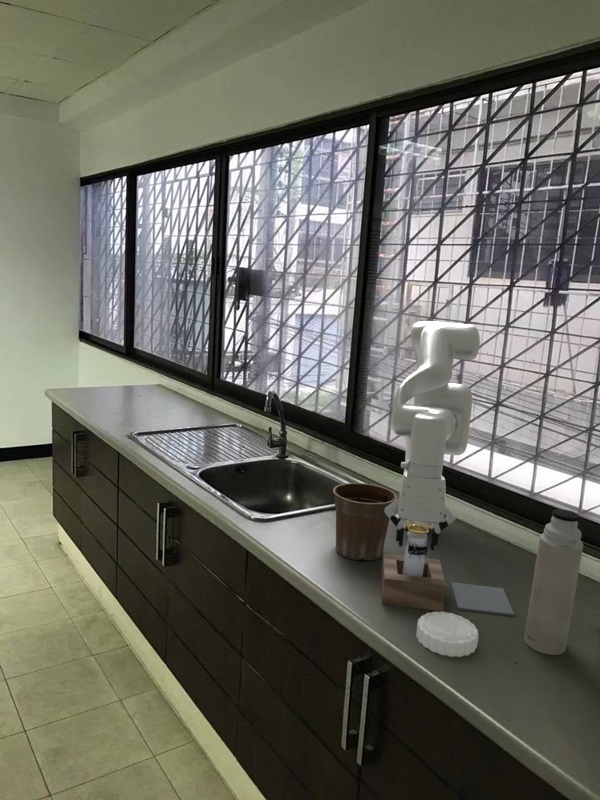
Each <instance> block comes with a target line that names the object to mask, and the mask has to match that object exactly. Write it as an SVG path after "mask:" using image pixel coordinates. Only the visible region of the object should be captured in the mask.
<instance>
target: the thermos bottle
mask: <svg viewBox="0 0 600 800" xmlns="http://www.w3.org/2000/svg"><path fill="white" fill-rule="evenodd" d="M551 514H552V516H551V519H550V522H549V523H546V524H545V527H544V529H543V533H541V534H540V535H539V539H538V547H537V552H536V559H535V565H534V570H533V571H534V572H533V573H534V574H533V577H532V584H531V586H532V587H531V590H530V591H531V592H530V598H529V604H528V605H529V606H528V612H527V617H526V623H525V630H524V636H523V637H524V638H523V640H524V642H525V644H526V645H527V646H529V648H530V649H532V650H534V651H537V652H538V653H541V654H545V655H551V656H555V655H556V656H558V655H562V654H564V653H565V652H566V651H567V643H568V639H569V632H570V627H571V621H572V615H573V609H574V602H575V597H576V591H577V584H578V579H579V573H580V568H581V562H582V561H581V560H582V555H583V550H584V542H582V540H581V539H582V531H581V530H580V529H579V528H578V526H579V525H578V524H579V520H580V514H578V513H577V512H574V511H571V510H568V509H562V508H561V509H560V508H556V509H553V510H552V513H551Z"/></svg>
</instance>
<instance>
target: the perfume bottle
mask: <svg viewBox="0 0 600 800" xmlns="http://www.w3.org/2000/svg"><path fill="white" fill-rule="evenodd" d="M404 530H406V531H407V533H406V539H405V549H404V555H403V556H404V565H403V574H402V575H409V576H418V577H423V570H424V562H425V558H426V555H427V554H428V546H429V545H427V543H428V534H431V527H430V526H429V525H427V524H426V522H417V521H412V522H408V523H406V524H405V529H404Z"/></svg>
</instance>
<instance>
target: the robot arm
mask: <svg viewBox="0 0 600 800" xmlns="http://www.w3.org/2000/svg"><path fill="white" fill-rule="evenodd" d="M410 329H411V330H410V339H411V345H412V348H413V352H414V355H415V358H416V371H414V372H413V373H411V374H410V375H409V376H407V377H406V378H405V379H404V380H403V381H402V382H401V383H400V385H399V386H398V388H397V390H396V392H395V395H394V398H393V403H392V404H393V405H392V411H391V412H392V413H391V421H390V423H391V429H392V432H393V433H395V435H396V436H399V437H403V438H405V459H404V460H405V461H401V462H400V468H401V469H404V470H403V475H402V477H401V482H400V486H399V491H398V496H397V499H396V500H395V501H394V502H392V503H391V504H390V505H388V506H387V507H386V508H385V509H384V512H385V513H386V515H387V516H388V517H389V518H390V519H389V520H390V521H391V522H392V523H393V525H394V526H395V527H396V536H395V541H396V542H398V547H401V548H402V547H403V544H404V535H405V530H406V529H405V524H406V523H408V522H412V521H417V522H426V524H427V525H429V526H430V527H431V532H430V538H429V549H430V550H431V551H435V546H438V541H439V535H440V534H441V532H442V531H444V529H446V528H447V527H448V526H450V525H451V523H453V522H454V521H455V520H456V515H455V514H454V513H453V512H452V510H451V509H450V508H449V507H448V506H447V505H446V492H447V491H446V489H447V488H446V478H445V477H444V476H443V475H442V474H443V466H444V459H445V455H449V456H461V455H463V454H464V453H465V452H466V449H467V447H468V443H469V442H468V441H469V435H470V434H469V433H470V425H471V416H472V408H473V394H472V389H471V387H469V386H468V385H466V384H462V383H454V382H453V383H452V382H450V381H451V380H452V377H453V369H454V367H453V364H454V360H463V361H464V360H465V361H473V360H475V359H476V357H477V356H478V354H479V351H480V346H481V338H480V337H481V336H480V333H479V330H478V328H477V327H476V326H475V325H473V324H468V323H467V324H466V323H456V322H455V323H454V322H446V321H445V322H444V321H433V320H422V321H417V322H415V323H414V324H413V325H412V327H411V328H410ZM412 397H413V404H410V403H407V401H408V400H410V399H411V398H412ZM394 510H396V513H397V514H395V513H394V512H393V511H394ZM445 516H446V517H445ZM444 517H445V518H444Z"/></svg>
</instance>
